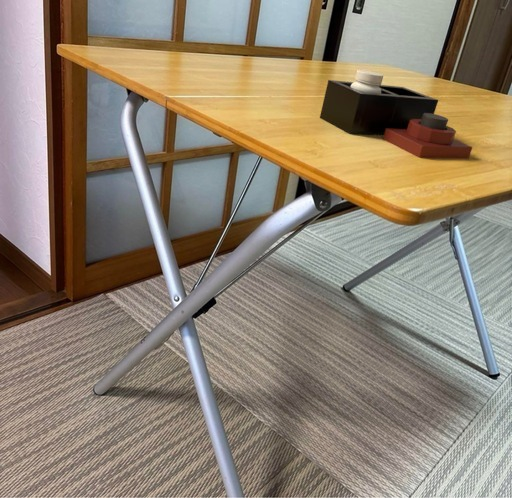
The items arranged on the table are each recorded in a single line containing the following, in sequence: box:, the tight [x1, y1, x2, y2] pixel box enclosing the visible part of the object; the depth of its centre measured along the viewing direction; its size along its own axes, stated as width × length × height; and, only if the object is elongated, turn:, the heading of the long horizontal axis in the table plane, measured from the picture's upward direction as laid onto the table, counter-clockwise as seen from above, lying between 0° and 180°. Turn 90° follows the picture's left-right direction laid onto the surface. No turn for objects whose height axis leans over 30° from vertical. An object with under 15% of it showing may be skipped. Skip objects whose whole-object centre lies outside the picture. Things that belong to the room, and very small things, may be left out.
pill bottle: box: [351, 69, 384, 94], centre depth 79 cm, size 5×5×8 cm
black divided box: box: [319, 79, 439, 137], centre depth 81 cm, size 16×8×6 cm, turn 117°
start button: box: [420, 113, 449, 130], centre depth 74 cm, size 4×4×2 cm
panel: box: [382, 119, 473, 159], centre depth 75 cm, size 10×8×4 cm
